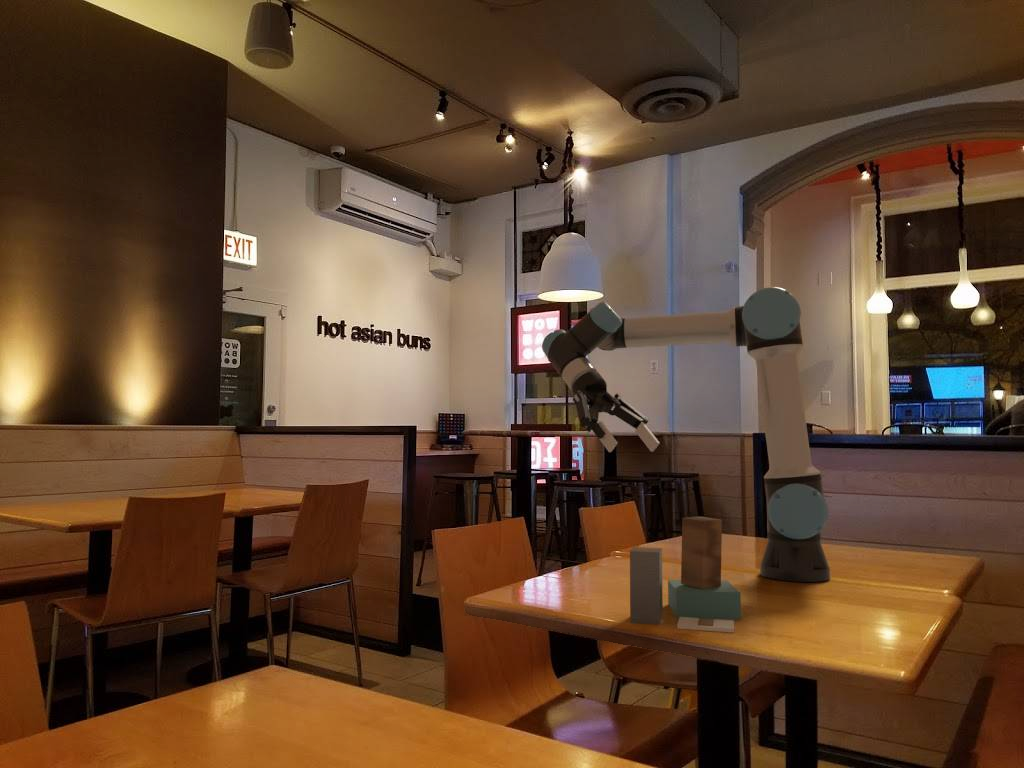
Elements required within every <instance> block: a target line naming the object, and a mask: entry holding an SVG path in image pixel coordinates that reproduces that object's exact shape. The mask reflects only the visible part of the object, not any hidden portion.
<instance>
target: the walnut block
mask: <svg viewBox="0 0 1024 768" xmlns="http://www.w3.org/2000/svg"><path fill="white" fill-rule="evenodd" d="M681 520H682V521H681V525H682V526H681V562H680V563H681V566H680V567H681V568H680V570H681V571H680V580H681V584H684V585H688V586H692V587H696V588H700V589H707V588H713V587H720V586H721V581H722V542H723V541H722V538H723V537H722V535H723V534H722V533H723V520H722V519H719V518H712V517H706V516H689V517H682V518H681Z"/></svg>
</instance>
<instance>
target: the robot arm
mask: <svg viewBox="0 0 1024 768" xmlns="http://www.w3.org/2000/svg"><path fill="white" fill-rule="evenodd" d="M801 312H802V311H801V307H800V304H799V301H798V300H797V299H796V296H794V295H793V294H792V292H789V291H788V290H787V289H784V288H782V287H777V286H767V287H762V288H761V289H758V290H756V291H755V292H753V293H752V294H751V295H750V296H749V297H748V298H747V299H746V301H745V303H744V304H743V305H740V306H733V307H732V308H731V309H729V310H726V311H713V312H701V313H700V312H699V313H683V314H669V315H667V314H666V315H655V316H654V315H653V316H636V317H625V318H621V317H620V316H619V315H618V314H617V313H616V311H615V310H614V309H613V308H612V307H611V306H610V304H608V303H607V302H606V301H600V302H599V303H598V304H596V305H595V306H594V307H592V308H590V309H589V311H588V312H587V313H586V314H585V315H584V316H583V317H581V319H579V320H578V321H577V322H576V323H575V324H574V325H573V326H572V327H571V328H569V329H568V330H567V331H565V330H564V329H556V330H554V331H552V332H549V333H548V334H547V335H546V336H545V337H544V339H543V340H542V345H541V349H542V352H543V353H544V354H545V356H546V358H547V361H548V362H549V363H550V365H551V366H552V367H553V368H554V370H555V371H556V372H557V373H558V374H559V376H560V377H561V379H562V380H563V381H564V383H566V385H567V387H568V388H569V390H571V392H572V394H573V395H574V396H573V397H572V401H573V404H575V407H576V412H577V417H578V421H579V425H580V426H581V427H583V428H585V430H586V431H587V432H588V433H590V432H593V433H594V435H595V436H596V437H597V438H598V439H599V441H600V442H601V444H602V445H603V446H604V447H605V449H606V451H608V453H612V452H613V451H614V449H616V446H617V445H618V443H619V442H618V441H617V440H616V438H615V437H614V436H613V434H612V433H611V432H610V430H609V429H608V428H607V426H606V425H605V424H604V422H603V421H602V420H601V421H600V420H599V414H600V413H606V414H608V415H610V416H612V417H613V416H615V417H617V418H618V419H619V420H621V421H623V422H625V423H626V424H628V425H629V426H631V427H632V428H634V429H635V430H634V431H635V433H636V434H637V435H638V437H639V438H640V440H641V441H642V442H643V443H644V445H645V446H646V447H647V449H648V450H649V452H651V453H653V452H655V450H656V449H657V448H658V446H659V445H660V444H661V443H660V441H659V440H658V438H657V437H656V436H655V435H654V434H653V432H652V431H651V430H650V428H648V426H647V424H648V422H650V421H649V418H648V417H647V416H645V415H644V414H643V413H642V412H640V411H639V410H638V409H637V408H635V407H634V406H633V405H631V404H630V403H629V402H628V401H626V400H625V399H624V398H623V397H622V396H621V394H619V393H618V392H617V393H615V395H611V394H610V393H609V392H608V390H607V389H608V388H607V387H608V386H607V381H605V379H604V378H603V377H602V375H601V374H600V372H598V370H597V369H596V368H595V366H594V365H593V364H592V363H591V362H590V360H589V359H588V358H587V356H588V355H589V354H591V353H592V352H593V351H595V350H596V348H598V349H600V350H601V351H614V350H616V349H617V350H618V349H626V348H627V349H629V348H645V347H647V348H648V347H665V346H666V347H667V346H670V347H671V346H686V345H687V346H688V345H689V346H690V345H709V344H729V343H730V344H731V345H733V347H746V349H747V351H746V352H747V355H749V357H751V358H753V359H754V360H755V364H756V365H755V366H756V373H757V379H758V386H759V395H760V404H761V409H762V410H761V411H762V417H763V418H762V419H763V425H764V434H765V440H766V441H765V442H766V448H767V456H768V464H769V468H768V471H767V472H766V473H765V475H764V476H763V481H764V491H765V497H766V498H765V499H766V517H767V518H766V524H767V525H766V528H767V531H766V533H767V542H766V545H765V548H764V552H763V555H762V558H761V561H760V566H759V567H760V568H759V571H760V572H759V574H760V576H762V577H765V578H768V579H772V580H779V581H787V582H798V583H799V582H800V583H802V582H803V583H814V582H815V583H817V582H818V583H819V582H825V581H829V580H831V568H830V566H829V563H828V560H827V557H826V554H825V551H824V548H823V546H822V536H821V535H822V532H821V531H822V530H823V528H824V527H825V526H826V523H827V520H828V518H829V507H828V504H827V502H826V499H825V494H824V488H823V481H822V474H821V471H820V470H819V469H817V468H816V467H814V465H813V464H812V456H811V449H810V442H809V436H808V435H809V434H808V427H807V422H806V421H807V419H806V413H805V405H804V398H803V390H802V383H801V376H800V370H799V362H798V353H799V352H800V351H801V350H802V349H803V347H804V343H803V337H802V336H803V335H802V329H801V322H800V321H801V316H802V313H801Z"/></svg>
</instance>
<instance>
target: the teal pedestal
mask: <svg viewBox="0 0 1024 768" xmlns="http://www.w3.org/2000/svg"><path fill="white" fill-rule="evenodd" d="M667 594H668V595H667V600H668V601H667V602H668V604H667V605H668V607H669V608H670V610H671V611H672V613H673V614H674V616H675V617H676V619H679V618H680V617H691V618H707V619H720V620H734V621H735V620H738V621H739V620H741V621H742V605H741V603H742V602H741V601H742V598H741V591H740V590H739V589H737V588H736V587H735V586H734V585H733V584H731V582H730V581H728V580H721V586H720V587H713V588H707V589H700V588H696V587H692V586H688V585H684V584H681V579H668V580H667Z"/></svg>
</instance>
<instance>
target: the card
mask: <svg viewBox="0 0 1024 768" xmlns="http://www.w3.org/2000/svg"><path fill="white" fill-rule="evenodd" d="M676 628H677V629H680V630H693V631H705V632H706V631H708V632H716V633H717V632H719V633H731V634H732V633H733V634H735V620H731V619H707V618H691V617H680V618H678V622H677V627H676Z"/></svg>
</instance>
